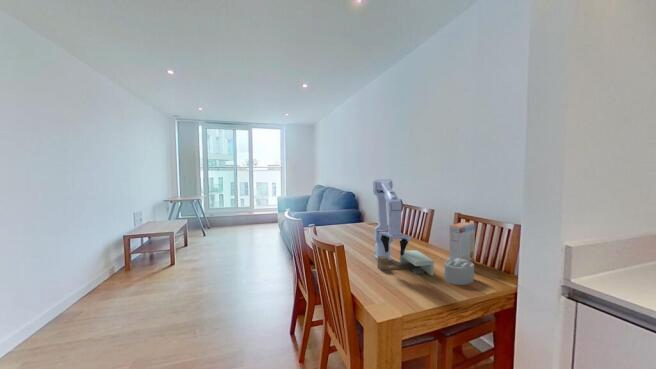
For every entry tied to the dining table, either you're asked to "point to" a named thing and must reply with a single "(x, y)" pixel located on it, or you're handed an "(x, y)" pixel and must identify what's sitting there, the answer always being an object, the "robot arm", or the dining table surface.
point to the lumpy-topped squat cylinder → (459, 271)
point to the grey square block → (417, 270)
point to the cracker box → (462, 241)
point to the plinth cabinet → (418, 260)
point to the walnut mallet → (384, 265)
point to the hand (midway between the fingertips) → (394, 253)
